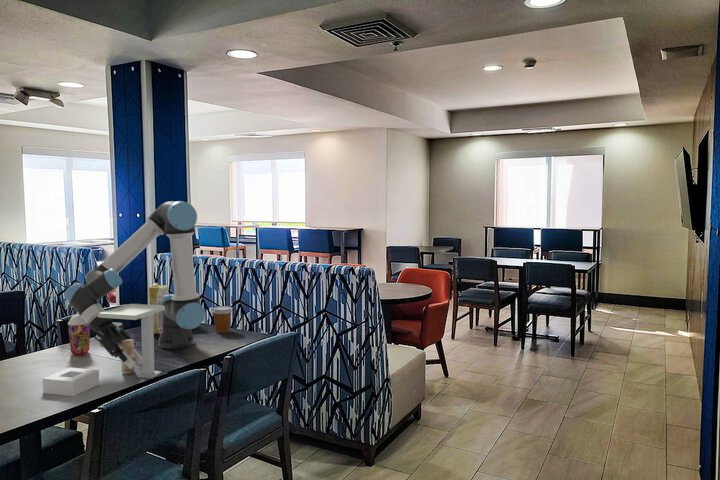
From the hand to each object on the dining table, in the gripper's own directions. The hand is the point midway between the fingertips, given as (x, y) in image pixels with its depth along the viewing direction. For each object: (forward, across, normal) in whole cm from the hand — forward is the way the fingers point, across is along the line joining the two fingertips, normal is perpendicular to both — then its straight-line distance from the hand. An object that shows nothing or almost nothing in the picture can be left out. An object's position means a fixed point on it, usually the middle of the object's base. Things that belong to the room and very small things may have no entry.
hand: (137, 364), depth 193 cm
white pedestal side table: (+2, 0, -3) cm, 4 cm away
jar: (-25, -37, -31) cm, 55 cm away
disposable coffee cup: (+4, -66, -2) cm, 66 cm away
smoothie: (-25, -16, -30) cm, 42 cm away
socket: (-6, +18, -11) cm, 23 cm away
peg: (0, 0, -5) cm, 5 cm away
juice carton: (-17, -57, -23) cm, 64 cm away
